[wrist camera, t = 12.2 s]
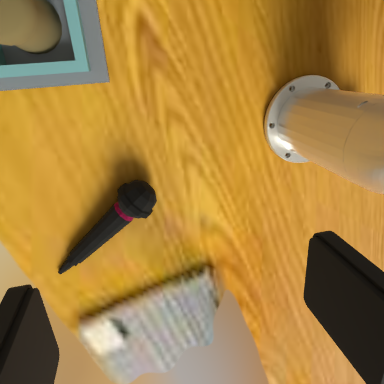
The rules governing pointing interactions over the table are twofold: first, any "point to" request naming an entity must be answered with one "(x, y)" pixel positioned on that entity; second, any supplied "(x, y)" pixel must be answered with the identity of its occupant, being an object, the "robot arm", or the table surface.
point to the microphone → (114, 220)
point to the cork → (30, 25)
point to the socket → (60, 53)
